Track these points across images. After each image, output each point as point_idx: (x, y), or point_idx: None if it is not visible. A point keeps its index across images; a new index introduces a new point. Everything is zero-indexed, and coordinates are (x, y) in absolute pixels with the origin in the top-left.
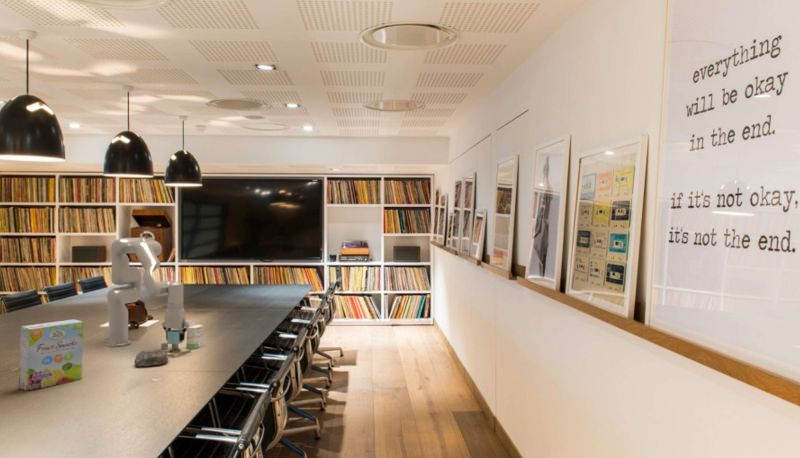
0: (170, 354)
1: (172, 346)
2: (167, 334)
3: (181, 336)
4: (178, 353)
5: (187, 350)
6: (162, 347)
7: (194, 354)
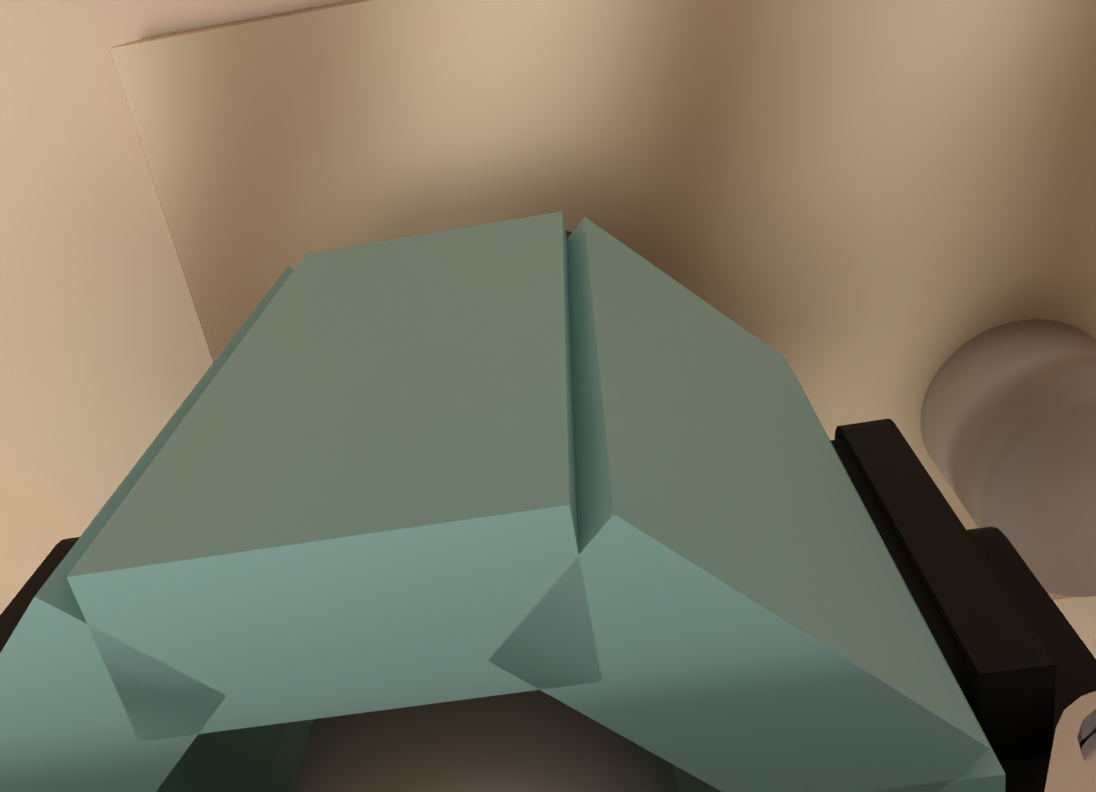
0: (326, 21)
1: None
2: (797, 517)
3: None
4: (226, 250)
5: None
6: (1058, 350)
7: (30, 528)
